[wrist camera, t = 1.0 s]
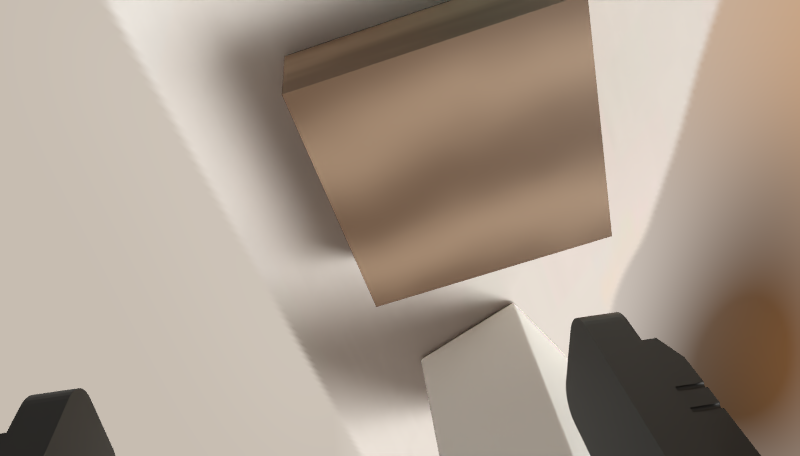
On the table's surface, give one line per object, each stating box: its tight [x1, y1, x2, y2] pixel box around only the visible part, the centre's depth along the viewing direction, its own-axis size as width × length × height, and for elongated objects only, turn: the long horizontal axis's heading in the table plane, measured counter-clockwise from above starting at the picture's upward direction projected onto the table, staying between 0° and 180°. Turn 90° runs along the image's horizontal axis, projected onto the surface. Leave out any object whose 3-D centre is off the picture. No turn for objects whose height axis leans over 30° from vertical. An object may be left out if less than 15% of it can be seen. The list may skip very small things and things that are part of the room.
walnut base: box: [282, 0, 612, 307], centre depth 29 cm, size 12×12×4 cm
